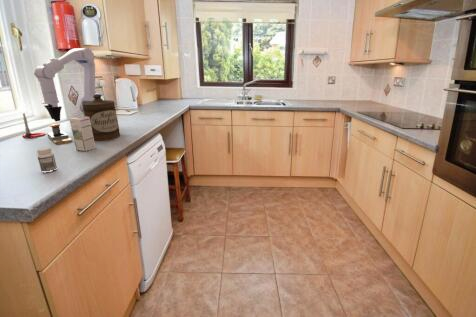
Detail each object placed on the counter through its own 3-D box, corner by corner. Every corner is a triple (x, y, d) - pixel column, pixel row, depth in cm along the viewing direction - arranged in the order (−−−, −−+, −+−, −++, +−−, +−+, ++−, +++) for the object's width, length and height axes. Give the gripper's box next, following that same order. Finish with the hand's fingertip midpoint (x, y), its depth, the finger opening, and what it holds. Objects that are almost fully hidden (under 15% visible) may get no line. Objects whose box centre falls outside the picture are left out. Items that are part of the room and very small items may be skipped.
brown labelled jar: (98, 143, 133) (89, 96, 126) (83, 138, 141) (74, 94, 134) (125, 136, 144) (119, 93, 137) (110, 132, 152) (103, 92, 145)
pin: (62, 137, 143) (58, 123, 141) (64, 139, 141) (60, 124, 138) (52, 139, 141) (49, 124, 138) (54, 141, 138) (51, 126, 135)
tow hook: (35, 134, 153) (20, 138, 145) (30, 111, 150) (15, 113, 141) (49, 134, 152) (35, 138, 143) (44, 111, 148) (29, 113, 140)
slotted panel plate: (63, 135, 149) (62, 130, 148) (72, 141, 136) (71, 137, 135) (48, 137, 145) (47, 132, 144) (55, 144, 131) (54, 139, 131)
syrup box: (96, 148, 125) (90, 116, 120) (85, 152, 120) (78, 118, 115) (86, 147, 127) (80, 115, 122) (75, 150, 122) (68, 118, 117)
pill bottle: (46, 168, 101) (40, 146, 98) (59, 168, 102) (54, 146, 99) (38, 173, 97) (32, 151, 94) (52, 173, 97) (47, 150, 94)
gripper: (37, 91, 136) (44, 119, 141) (42, 94, 126) (49, 123, 131) (53, 90, 141) (59, 117, 145) (59, 92, 131) (66, 121, 135)
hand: (56, 119), depth 138 cm, fingers open, 7 cm apart
